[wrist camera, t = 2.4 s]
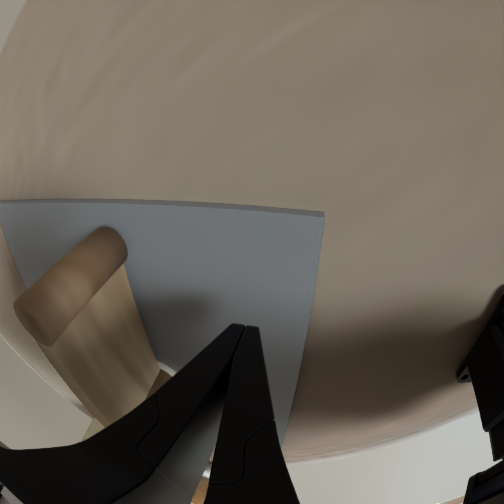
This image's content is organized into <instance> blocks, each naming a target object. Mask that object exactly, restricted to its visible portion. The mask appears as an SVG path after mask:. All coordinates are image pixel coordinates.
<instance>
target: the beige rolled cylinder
mask: <svg viewBox="0 0 504 504" xmlns="http://www.w3.org/2000/svg"><path fill="white" fill-rule="evenodd" d="M127 257H128V250H127V246H126V244H125V242H124V240H123V238H122V237H121V236H120V235H119V234H118V233H117V232H116V231H115V230H114V229H112V228H110V227H106V226H101V227H99V228H97V229H96V230H95V231H93V232H92V233H91V234H90V235H88V236H87V237H86V238H85V239H84V240H82V241H81V242H80V243H79V244H77V245H76V246H75V247H74V248H73V249H72V250H70V251H69V252H68V253H67V254H66V255H65V256H63V257H62V258H61V259H60V260H59V261H58V262H57V263H55V264H54V265H53V266H52V267H51V268H50V269H49V270H48V271H47V272H45V273H44V274H43V275H42V276H41V277H40V278H39V279H38V280H37V281H36V282H35V283H34V284H33V285H32V286H31V287H30V288H29V289H27V290H26V291H25V292H24V293H23V294H22V295H21V296H20V297H19V298H18V299H17V300H16V301H15V302H14V310H15V312H16V315H17V317H18V318H19V320H20V322H21V323H22V324H23V326H24V327H25V328H26V330H27V331H28V332H29V333H30V334H31V335H32V336H33V337H34V338H35V340H36V341H37V343H38V344H39V346H40V348H41V349H42V351H43V352H44V354H45V355H46V356H47V358H48V359H49V361H50V362H51V364H52V365H53V366H54V368H55V369H56V371H57V372H58V373H59V375H60V376H61V377H62V379H63V380H64V381H65V382H66V384H67V385H68V386H69V388H70V389H71V390H72V391H73V393H74V394H75V395H76V396H77V397H78V399H79V400H80V401H81V402H82V403H83V404H84V406H85V407H86V408H87V409H88V410H89V411H90V412H91V414H92V415H93V416H94V417H95V418H96V419H97V420H98V421H99V422H100V423H101V424H102V425H103V426H104V427H105V428H106V427H107V426H109V425H111V424H112V423H114V422H115V421H117V420H118V419H120V418H121V417H123V416H124V415H126V414H127V413H129V412H130V411H132V410H133V409H134V408H135V407H137V406H138V405H139V404H141V403H142V402H143V401H144V400H145V399H146V397H147V395H148V393H149V391H150V389H151V387H152V385H153V383H154V381H155V379H156V377H157V375H158V373H159V371H160V368H159V366H158V364H157V361H156V359H155V356H154V354H153V351H152V348H151V346H150V343H149V341H148V338H147V335H146V332H145V330H144V327H143V324H142V321H141V318H140V315H139V312H138V309H137V306H136V303H135V300H134V297H133V294H132V291H131V287H130V284H129V281H128V277H127V274H126V270H125V267H124V262H125V261H126V260H127Z"/></svg>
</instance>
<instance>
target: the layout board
mask: <svg viewBox="0 0 504 504" xmlns="http://www.w3.org/2000/svg"><path fill="white" fill-rule="evenodd" d="M0 224H1V227H2V230H3V233H4V236H5V239H6V241H7V244H8V247H9V250H10V252H11V255H12V257H13V260H14V262H15V265H16V267H17V269H18V272H19V274H20V276H21V278H22V281H23V283H24V285H25V287H26V289H29V288H30V287H31V286H32V285H33V284H34V283H35V282H36V281H37V280H38V279H39V278H40V277H41V276H42V275H43V274H44V273H45V272H47V271H48V270H49V269H50V268H51V267H52V266H53V265H54V264H55V263H57V262H58V261H59V260H60V259H61V258H62V257H63V256H65V255H66V254H67V253H68V252H69V251H70V250H72V249H73V248H74V247H75V246H76V245H77V244H79V243H80V242H81V241H82V240H84V239H85V238H86V237H87V236H88V235H90V234H91V233H92V232H93V231H95V230H96V229H97V228H99V227H101V226H106V227H110V228H112V229H114V230H115V231H116V232H117V233H118V234H119V235H120V236H121V237H122V238H123V240H124V242H125V244H126V246H127V250H128V257H127V260H126V261H125V262H124V267H125V270H126V274H127V277H128V281H129V284H130V287H131V291H132V294H133V297H134V300H135V303H136V306H137V309H138V312H139V315H140V318H141V321H142V324H143V327H144V330H145V332H146V335H147V338H148V341H149V343H150V346H151V348H152V351H153V354H154V356H155V359H156V361H157V364H158V366H159V368H160V369H162V370H164V371H166V372H167V373H169V374H170V375H171V376H174V375H175V374H176V373H177V372H178V371H179V370H180V369H181V368H183V367H184V366H185V365H186V364H187V363H188V362H189V361H191V360H192V359H193V358H194V357H195V356H196V355H197V354H198V353H199V352H201V351H202V350H203V349H204V348H205V347H206V346H207V345H208V344H209V343H211V342H212V341H213V340H214V339H215V338H216V337H217V336H218V335H219V334H220V333H221V332H223V331H224V330H225V329H226V328H227V327H228V326H229V325H230V324H232V323H238V324H244V325H245V326H246V325H251V326H258V327H259V329H260V335H261V340H262V346H263V352H264V358H265V364H266V370H267V376H268V382H269V388H270V393H271V399H272V405H273V411H274V417H275V422H276V427H277V433H278V438H279V442H280V447H281V446H282V443H283V439H284V435H285V431H286V427H287V423H288V419H289V415H290V411H291V407H292V403H293V398H294V394H295V390H296V385H297V381H298V376H299V371H300V366H301V362H302V357H303V352H304V347H305V341H306V336H307V331H308V325H309V320H310V314H311V308H312V302H313V296H314V290H315V284H316V277H317V270H318V263H319V256H320V249H321V241H322V233H323V225H324V212H316V211H306V210H296V209H285V208H273V207H261V206H248V205H234V204H219V203H201V202H182V201H157V200H121V199H42V200H10V201H0ZM216 442H217V441H216Z"/></svg>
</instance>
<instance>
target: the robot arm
mask: <svg viewBox="0 0 504 504" xmlns="http://www.w3.org/2000/svg"><path fill="white" fill-rule="evenodd" d="M456 379H457V382H458V383H463V382H472V384H473V388H474V392H475V395H476V399H477V403H478V408H479V412H480V417H481V421H482V426H483V429H484V431H485V432H489V436H490V442H491V448H492V454H493V461H497V460H500V459H503V460H502V461H500V462H499V463H497V464H496V465H494V466H492V467H491V468H489V469H487V470H486V471H483V472H479V473H477V474H475V475H473V476H471V477H470V478H469V481H468V485H467V490H466V494H465V498H464V502H463V504H504V297H503V299H502V301H501V303H500V305H499V307H498V309H497V310H496V312H495V314H494V316H493V317H492V319H491V321H490V323H489V324H488V326H487V328H486V329H485V331H484V333H483V334H482V336H481V337H480V339H479V341H478V342H477V344H476V345H475V347H474V348H473V350H472V351H471V353H470V354H469V356H468V357H467V358H466V360H465V361H464V363H463V364H462V365H461V367H460V368H459V370H458V371H457V372H456ZM216 441H217V442H216ZM215 443H216V447H215V452H214V457H213V462H212V467H211V472H210V478H209V483H208V485H209V486H208V488H207V493H206V497H205V500H204V504H300V502H299V500H298V497H297V494H296V492H295V489H294V486H293V483H292V481H291V478H290V475H289V472H288V469H287V467H286V464H285V460H284V457H283V454H282V451H281V447H280V442H279V438H278V433H277V427H276V422H275V417H274V411H273V405H272V399H271V393H270V388H269V382H268V376H267V370H266V364H265V358H264V352H263V346H262V340H261V335H260V329H259V327H258V326H251V325H246V326H245V325H244V324H238V323H232V324H230V325H229V326H228V327H227V328H226V329H225V330H224V331H223V332H221V333H220V334H219V335H218V336H217V337H216V338H215V339H214V340H213V341H212V342H211V343H209V344H208V345H207V346H206V347H205V348H204V349H203V350H202V351H201V352H199V353H198V354H197V355H196V356H195V357H194V358H193V359H192V360H191V361H189V362H188V363H187V364H186V365H185V366H184V367H183V368H181V369H180V370H179V371H178V372H177V373H176V374H175V375H174V376H172V377H171V378H170V379H169V380H168V381H167V382H165V383H164V384H163V385H162V386H161V387H160V388H159V389H157V390H156V391H155V393H153V394H151V395H150V396H149V397H148V398H147V399H146V400H144V401H143V402H142V403H141V404H139V405H138V406H137V407H135V408H134V409H133V410H132V411H130V412H129V413H127V414H126V415H124V416H123V417H121V418H120V419H118V420H117V421H115V422H114V423H112V424H111V425H109V426H107V427H106V428H104V429H102V430H101V431H99V432H98V433H96V434H94V435H93V436H91V437H89V438H88V439H86V440H84V441H82V442H79V443H76V444H73V445H69V446H61V447H52V448H41V449H24V450H13V449H10V448H8V447H7V446H6V445H5V444H3V443H2V442H1V441H0V504H190V503H191V501H192V499H193V498H192V497H193V496H194V494H195V492H196V489H197V487H198V485H199V482H200V480H201V477H202V475H203V473H204V470H205V468H206V465H207V463H208V460H209V458H210V456H211V453H212V451H213V448H214V446H215Z"/></svg>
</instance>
